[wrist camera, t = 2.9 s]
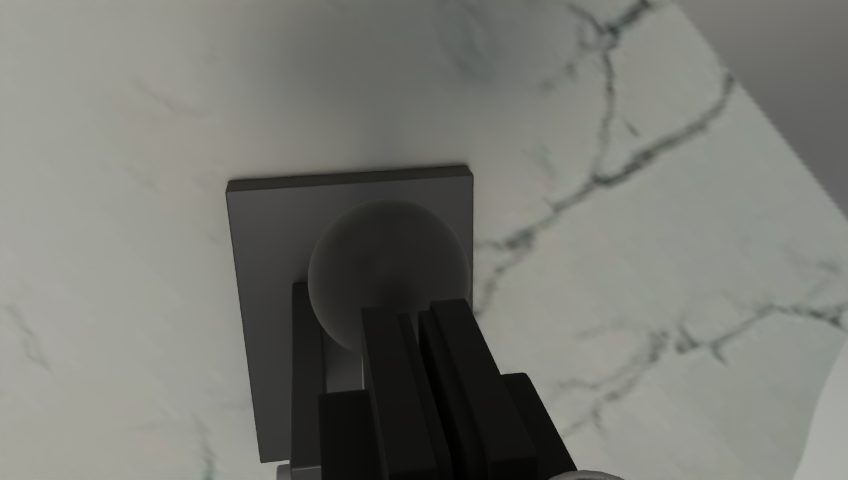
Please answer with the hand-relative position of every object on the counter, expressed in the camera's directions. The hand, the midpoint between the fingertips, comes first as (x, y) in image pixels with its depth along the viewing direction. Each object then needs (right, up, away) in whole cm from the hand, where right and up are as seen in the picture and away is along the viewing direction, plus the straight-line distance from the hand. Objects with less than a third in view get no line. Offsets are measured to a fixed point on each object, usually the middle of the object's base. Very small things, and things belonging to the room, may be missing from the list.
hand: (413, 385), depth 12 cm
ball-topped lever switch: (-1, 0, +7) cm, 7 cm away
